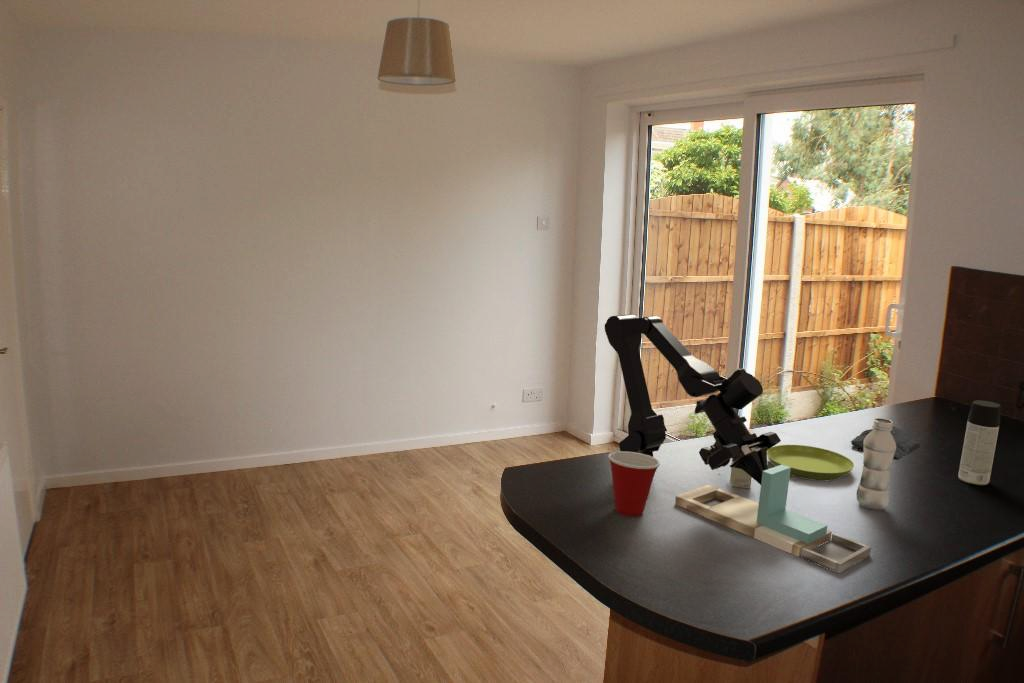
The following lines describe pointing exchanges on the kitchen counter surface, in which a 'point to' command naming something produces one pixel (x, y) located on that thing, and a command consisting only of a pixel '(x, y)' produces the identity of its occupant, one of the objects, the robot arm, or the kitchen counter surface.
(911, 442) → the dark grey crumpled cloth
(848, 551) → the birch board
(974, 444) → the spray can
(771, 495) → the teal L-block
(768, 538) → the cream pad
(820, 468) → the saucer
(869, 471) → the plastic bottle
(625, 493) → the plastic cup
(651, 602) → the kitchen counter surface
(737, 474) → the box
